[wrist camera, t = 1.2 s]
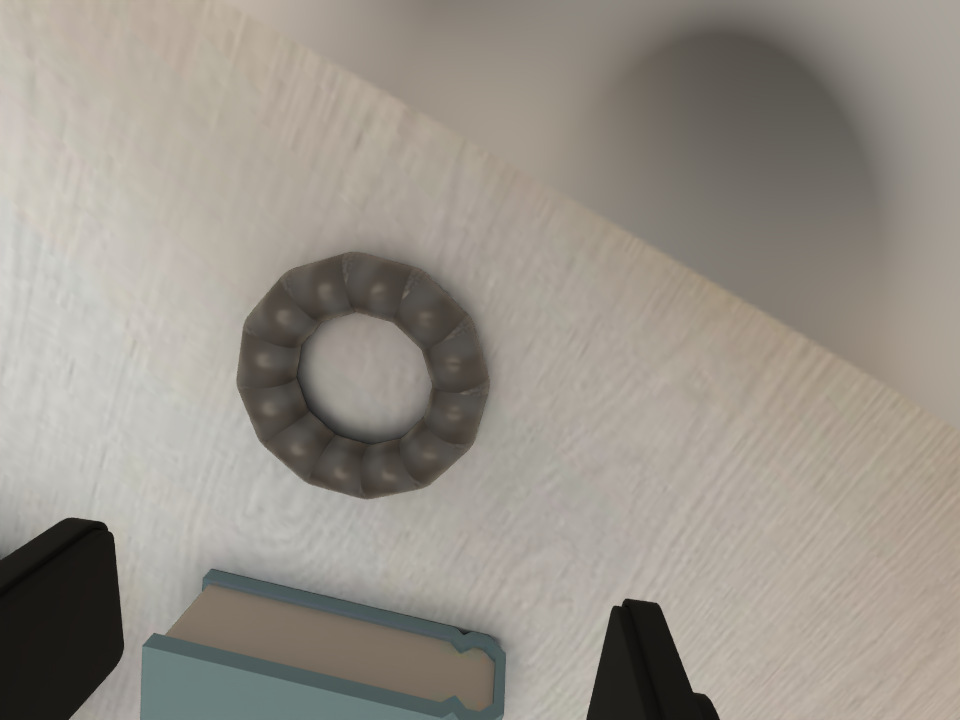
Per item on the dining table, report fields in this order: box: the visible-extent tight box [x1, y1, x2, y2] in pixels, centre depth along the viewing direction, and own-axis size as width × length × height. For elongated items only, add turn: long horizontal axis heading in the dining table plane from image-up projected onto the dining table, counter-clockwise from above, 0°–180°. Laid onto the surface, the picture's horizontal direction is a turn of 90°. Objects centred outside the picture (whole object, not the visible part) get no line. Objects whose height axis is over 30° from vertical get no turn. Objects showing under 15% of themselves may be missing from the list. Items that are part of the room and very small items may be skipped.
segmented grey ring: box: [237, 252, 489, 499], centre depth 22 cm, size 11×11×2 cm
